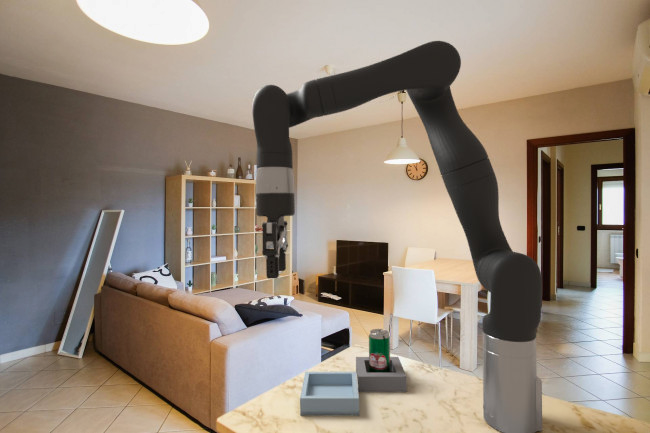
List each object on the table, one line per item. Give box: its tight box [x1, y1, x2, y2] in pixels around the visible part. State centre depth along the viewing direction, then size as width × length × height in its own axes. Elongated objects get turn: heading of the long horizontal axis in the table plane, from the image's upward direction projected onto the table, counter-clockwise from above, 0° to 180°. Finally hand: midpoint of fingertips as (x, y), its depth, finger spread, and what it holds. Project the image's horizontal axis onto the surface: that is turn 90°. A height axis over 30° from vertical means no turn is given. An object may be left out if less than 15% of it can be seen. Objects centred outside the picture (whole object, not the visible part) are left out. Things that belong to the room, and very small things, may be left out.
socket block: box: [355, 356, 408, 393], centre depth 86 cm, size 11×11×4 cm
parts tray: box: [299, 371, 360, 417], centre depth 77 cm, size 12×12×4 cm
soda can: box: [368, 328, 391, 373], centre depth 86 cm, size 5×5×12 cm
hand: (276, 274), depth 69 cm, fingers open, 8 cm apart
